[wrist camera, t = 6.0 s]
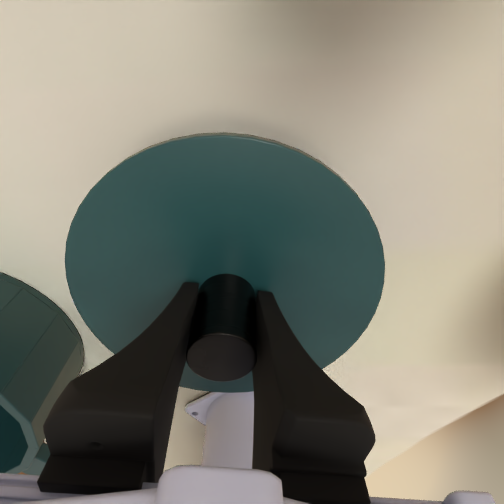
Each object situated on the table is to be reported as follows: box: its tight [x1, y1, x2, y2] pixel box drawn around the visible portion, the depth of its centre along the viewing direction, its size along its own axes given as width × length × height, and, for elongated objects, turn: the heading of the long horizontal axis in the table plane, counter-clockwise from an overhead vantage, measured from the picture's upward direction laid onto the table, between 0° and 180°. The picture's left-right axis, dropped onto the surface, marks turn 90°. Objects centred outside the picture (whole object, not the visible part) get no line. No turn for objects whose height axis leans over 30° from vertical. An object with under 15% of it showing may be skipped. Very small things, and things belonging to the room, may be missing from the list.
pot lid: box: [65, 133, 385, 393], centre depth 14 cm, size 14×14×5 cm
